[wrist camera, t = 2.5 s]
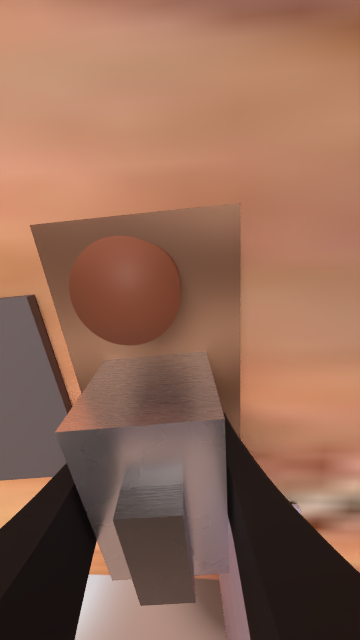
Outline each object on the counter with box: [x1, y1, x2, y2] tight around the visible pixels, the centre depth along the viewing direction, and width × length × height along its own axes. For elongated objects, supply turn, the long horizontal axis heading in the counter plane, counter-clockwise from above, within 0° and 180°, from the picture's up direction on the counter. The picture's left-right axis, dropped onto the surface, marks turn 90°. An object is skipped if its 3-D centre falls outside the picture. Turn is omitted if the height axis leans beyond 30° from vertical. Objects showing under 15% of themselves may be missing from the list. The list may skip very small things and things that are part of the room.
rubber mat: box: [0, 295, 72, 480], centre depth 13 cm, size 14×9×1 cm, turn 5°
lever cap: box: [55, 351, 229, 606], centre depth 8 cm, size 8×5×5 cm, turn 5°
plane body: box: [30, 203, 241, 438], centre depth 10 cm, size 18×8×6 cm, turn 5°
